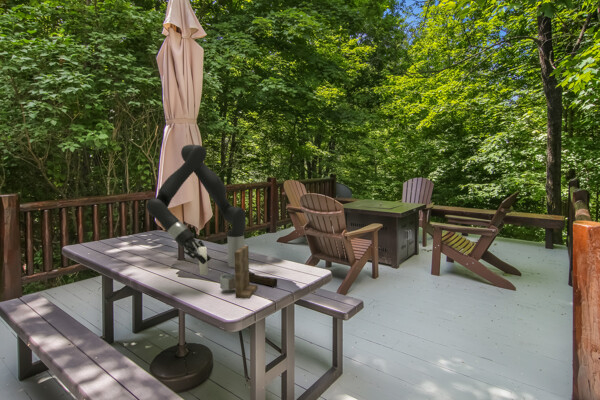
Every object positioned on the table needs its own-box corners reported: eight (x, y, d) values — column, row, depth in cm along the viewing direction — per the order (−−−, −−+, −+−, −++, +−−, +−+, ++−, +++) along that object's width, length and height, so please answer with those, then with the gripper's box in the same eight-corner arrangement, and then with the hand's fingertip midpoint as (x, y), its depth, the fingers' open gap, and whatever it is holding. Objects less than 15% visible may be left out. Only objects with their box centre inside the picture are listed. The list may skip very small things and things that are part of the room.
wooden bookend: (245, 287, 158) (244, 245, 156) (257, 288, 157) (256, 246, 154) (235, 297, 146) (234, 252, 144) (248, 298, 145) (248, 252, 143)
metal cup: (224, 284, 157) (224, 273, 156) (243, 285, 155) (242, 274, 154) (218, 289, 150) (218, 278, 149) (237, 290, 148) (237, 279, 148)
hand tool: (278, 285, 160) (278, 276, 160) (273, 288, 157) (273, 278, 157) (247, 279, 170) (247, 270, 170) (241, 281, 167) (241, 272, 166)
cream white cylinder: (201, 272, 154) (200, 246, 153) (208, 272, 154) (207, 246, 152) (198, 274, 151) (196, 248, 149) (205, 275, 150) (204, 248, 149)
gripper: (177, 231, 144) (205, 260, 144) (193, 225, 158) (219, 251, 157) (166, 243, 146) (194, 272, 145) (183, 235, 160) (209, 262, 159)
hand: (207, 261), depth 151 cm, fingers closed on cream white cylinder, 3 cm apart
